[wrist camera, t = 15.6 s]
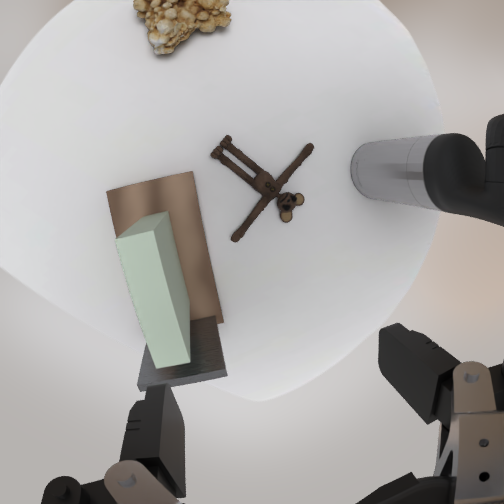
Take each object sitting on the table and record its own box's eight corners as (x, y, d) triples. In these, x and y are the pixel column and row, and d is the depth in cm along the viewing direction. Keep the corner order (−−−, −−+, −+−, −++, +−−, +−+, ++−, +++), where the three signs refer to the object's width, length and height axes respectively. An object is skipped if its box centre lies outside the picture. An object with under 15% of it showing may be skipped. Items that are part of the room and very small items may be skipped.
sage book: (168, 210, 41) (153, 230, 25) (189, 300, 44) (190, 362, 29) (143, 216, 40) (114, 239, 25) (166, 305, 44) (156, 368, 28)
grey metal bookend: (215, 315, 45) (225, 368, 32) (216, 321, 45) (227, 376, 32) (149, 328, 44) (137, 384, 30) (151, 334, 44) (140, 391, 31)
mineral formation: (155, 68, 37) (113, 1, 32) (233, 33, 40) (188, -28, 35) (161, 44, 30) (112, -28, 25) (251, 10, 33) (199, -56, 27)
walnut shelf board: (192, 171, 42) (192, 171, 40) (222, 317, 48) (223, 322, 46) (109, 190, 40) (106, 191, 38) (147, 332, 46) (146, 338, 44)
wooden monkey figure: (261, 94, 39) (342, 164, 41) (257, 103, 43) (331, 166, 46) (174, 197, 40) (260, 265, 43) (178, 197, 44) (256, 259, 47)
